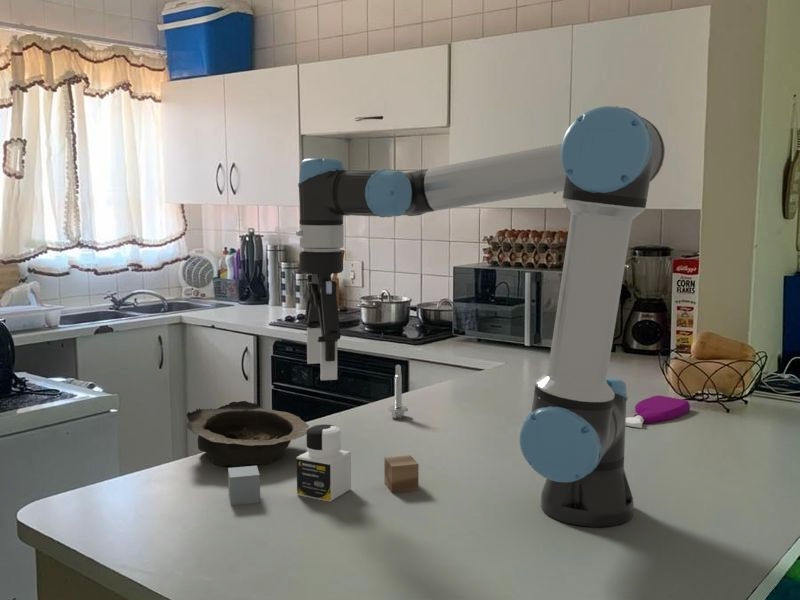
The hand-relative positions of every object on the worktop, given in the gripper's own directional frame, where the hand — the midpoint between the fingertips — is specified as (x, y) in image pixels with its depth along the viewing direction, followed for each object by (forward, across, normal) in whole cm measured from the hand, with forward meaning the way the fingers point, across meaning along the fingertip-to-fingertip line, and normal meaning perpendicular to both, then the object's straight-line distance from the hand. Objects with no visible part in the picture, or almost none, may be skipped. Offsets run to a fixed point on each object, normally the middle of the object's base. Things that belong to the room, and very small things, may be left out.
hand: (321, 371), depth 138 cm
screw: (+22, -44, +27) cm, 56 cm away
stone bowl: (+23, -25, -11) cm, 35 cm away
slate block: (+22, -1, -14) cm, 26 cm away
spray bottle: (+22, -28, +86) cm, 93 cm away
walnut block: (+22, +1, +14) cm, 26 cm away
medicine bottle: (+22, 0, 0) cm, 22 cm away
